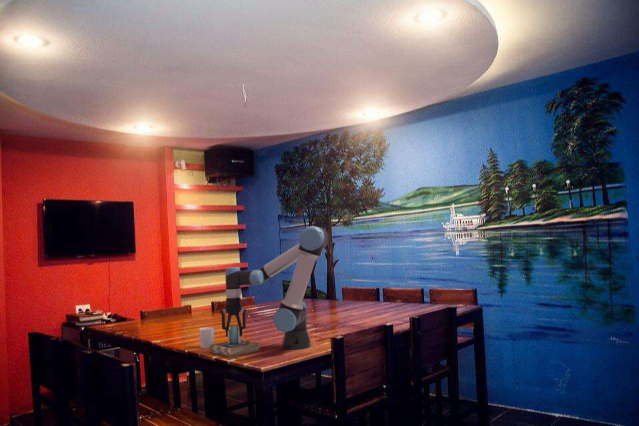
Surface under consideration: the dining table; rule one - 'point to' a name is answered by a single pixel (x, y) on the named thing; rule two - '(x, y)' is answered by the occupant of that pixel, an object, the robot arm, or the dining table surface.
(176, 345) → the dining table surface
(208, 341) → the white cup
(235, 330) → the peg
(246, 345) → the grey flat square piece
